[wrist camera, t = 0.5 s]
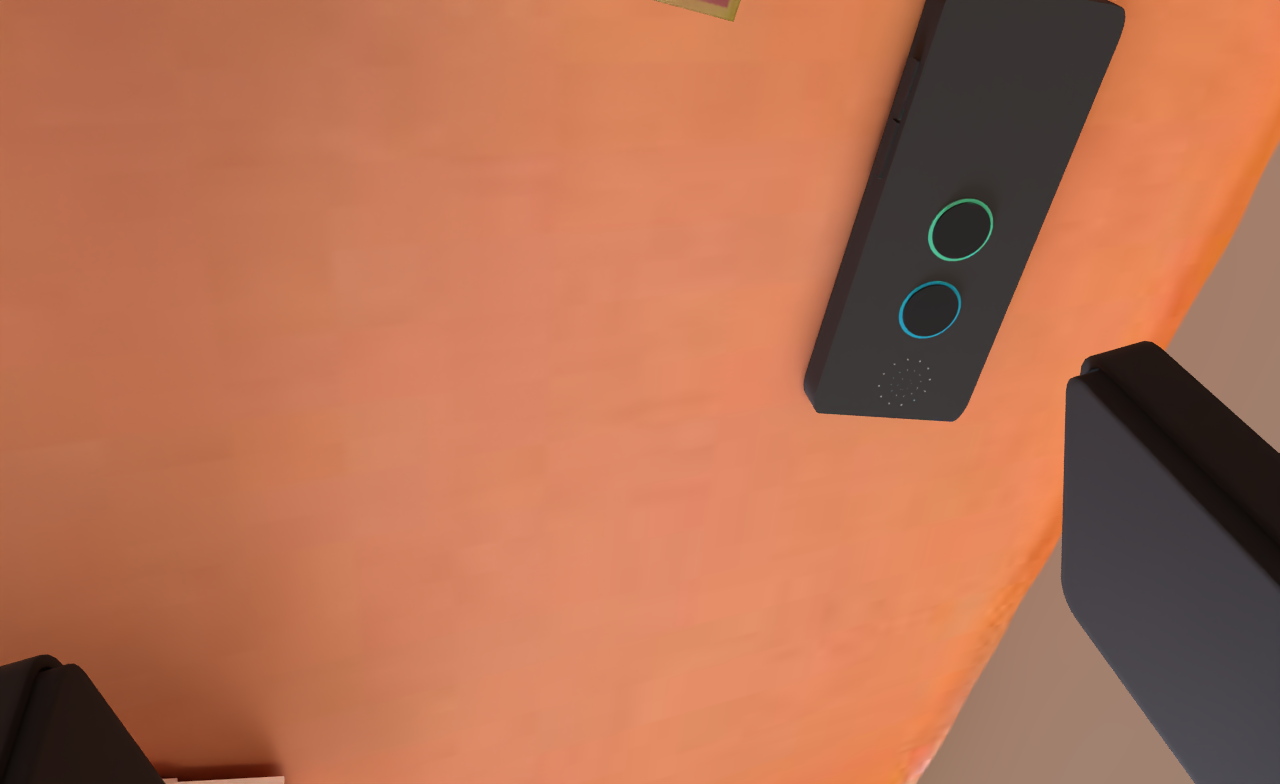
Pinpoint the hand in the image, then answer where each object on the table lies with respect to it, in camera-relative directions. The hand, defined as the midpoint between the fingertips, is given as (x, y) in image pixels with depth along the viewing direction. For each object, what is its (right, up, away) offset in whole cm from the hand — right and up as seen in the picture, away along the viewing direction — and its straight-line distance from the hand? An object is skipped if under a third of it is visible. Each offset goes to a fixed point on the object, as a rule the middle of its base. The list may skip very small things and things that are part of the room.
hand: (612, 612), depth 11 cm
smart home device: (+14, +10, +40) cm, 43 cm away
